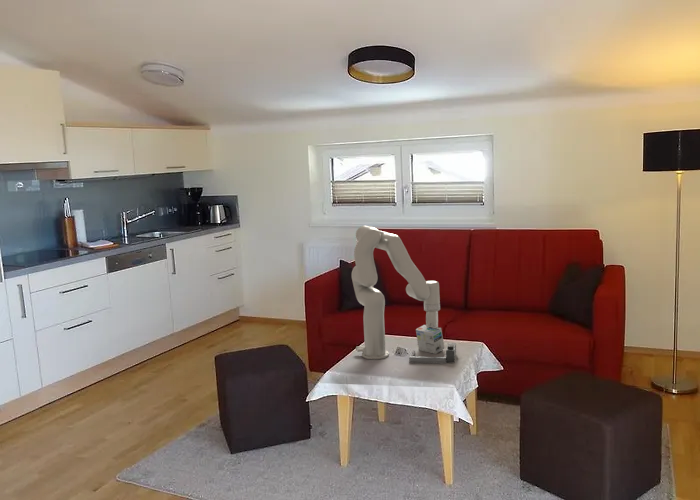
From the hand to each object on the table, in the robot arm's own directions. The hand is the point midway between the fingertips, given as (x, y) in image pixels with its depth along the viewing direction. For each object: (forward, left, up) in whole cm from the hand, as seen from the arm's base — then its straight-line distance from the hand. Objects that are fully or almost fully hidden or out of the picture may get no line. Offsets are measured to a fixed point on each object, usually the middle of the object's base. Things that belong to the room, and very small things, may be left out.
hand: (433, 344), depth 297 cm
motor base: (+2, -17, -1) cm, 17 cm away
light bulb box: (0, -6, -1) cm, 6 cm away
